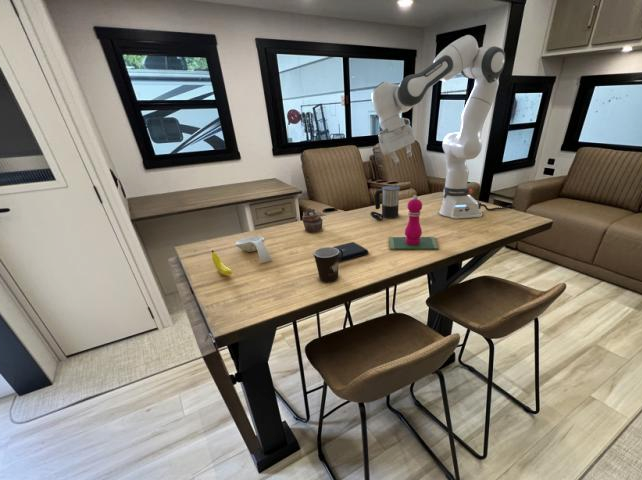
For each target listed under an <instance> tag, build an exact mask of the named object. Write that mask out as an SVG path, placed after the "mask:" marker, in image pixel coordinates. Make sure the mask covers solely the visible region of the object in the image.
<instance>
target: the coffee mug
mask: <svg viewBox="0 0 642 480" xmlns="http://www.w3.org/2000/svg"><path fill="white" fill-rule="evenodd" d="M332 247H333V246H332ZM332 247H331V246H325V247H320V248H317V249H315V250H314V251H313V257H314V261H315V265H316V269H317V272H318V277H319V281H320V282H322V283H326V284H328V283H333V282H336V281H337V280H338V279H339V264H340V260H341V258H342V256H343V251H342V250H341V249H336V248H332ZM339 251H341V257H340V259H339Z"/></svg>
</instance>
